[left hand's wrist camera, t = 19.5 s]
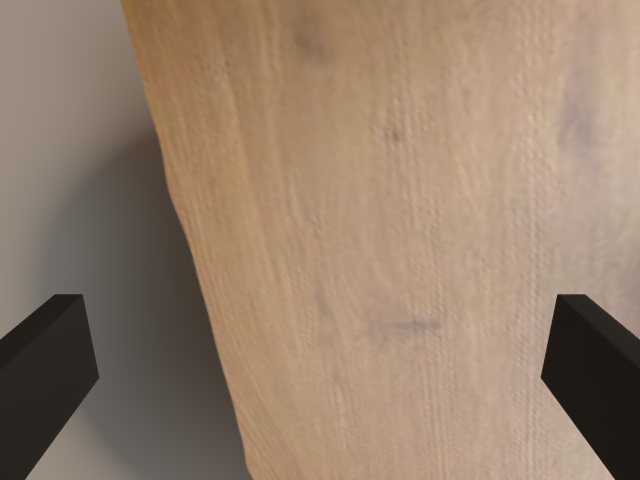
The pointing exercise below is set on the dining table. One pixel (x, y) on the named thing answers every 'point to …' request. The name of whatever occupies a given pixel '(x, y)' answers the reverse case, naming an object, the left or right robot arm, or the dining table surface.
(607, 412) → the left robot arm
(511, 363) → the dining table surface
